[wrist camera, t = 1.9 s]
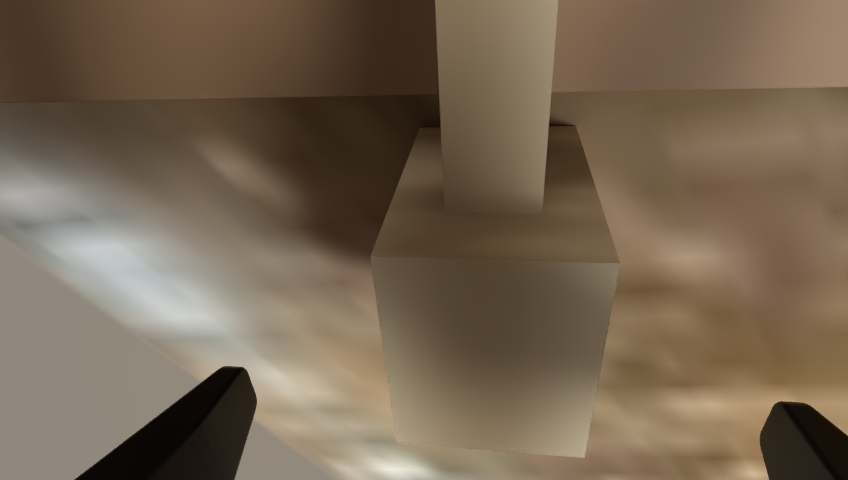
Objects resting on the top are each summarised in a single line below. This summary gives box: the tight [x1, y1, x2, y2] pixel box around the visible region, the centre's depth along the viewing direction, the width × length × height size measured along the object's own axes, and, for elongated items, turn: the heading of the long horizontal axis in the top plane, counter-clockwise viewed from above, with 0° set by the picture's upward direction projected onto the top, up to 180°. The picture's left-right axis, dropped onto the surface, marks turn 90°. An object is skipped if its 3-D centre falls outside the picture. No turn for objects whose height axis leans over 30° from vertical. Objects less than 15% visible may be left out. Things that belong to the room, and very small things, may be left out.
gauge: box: [370, 0, 620, 458], centre depth 10 cm, size 4×14×6 cm, turn 3°
